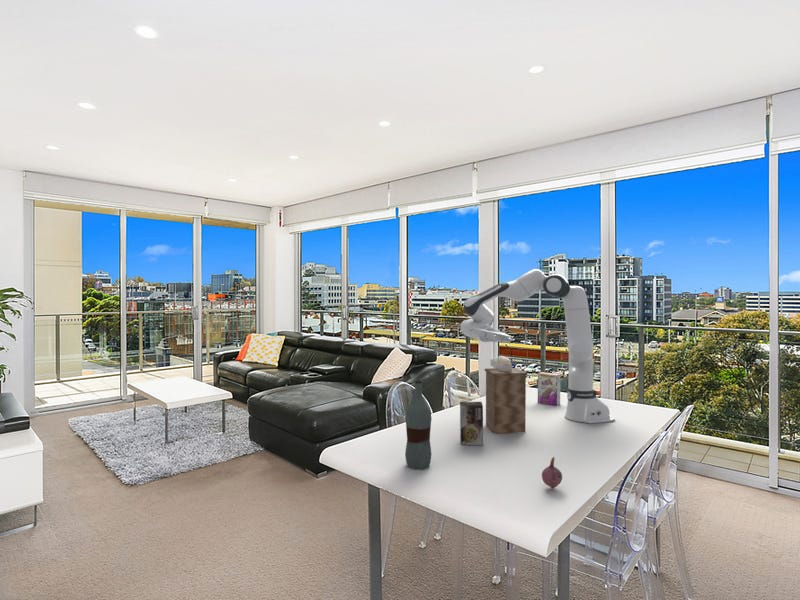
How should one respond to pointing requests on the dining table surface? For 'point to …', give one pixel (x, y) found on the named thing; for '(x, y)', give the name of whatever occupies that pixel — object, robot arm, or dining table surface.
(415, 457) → the bottle
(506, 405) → the lidded wooden crate
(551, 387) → the candy bar box
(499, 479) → the dining table surface
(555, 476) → the vegetable
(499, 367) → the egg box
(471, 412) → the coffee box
